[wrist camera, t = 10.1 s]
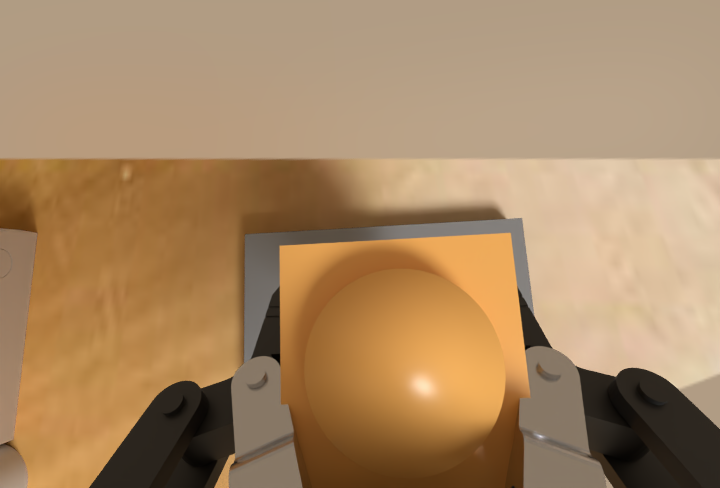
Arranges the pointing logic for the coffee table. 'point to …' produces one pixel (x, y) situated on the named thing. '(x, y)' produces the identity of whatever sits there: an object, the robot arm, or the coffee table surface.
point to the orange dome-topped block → (403, 360)
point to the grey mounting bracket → (12, 468)
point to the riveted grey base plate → (266, 246)
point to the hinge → (13, 319)
